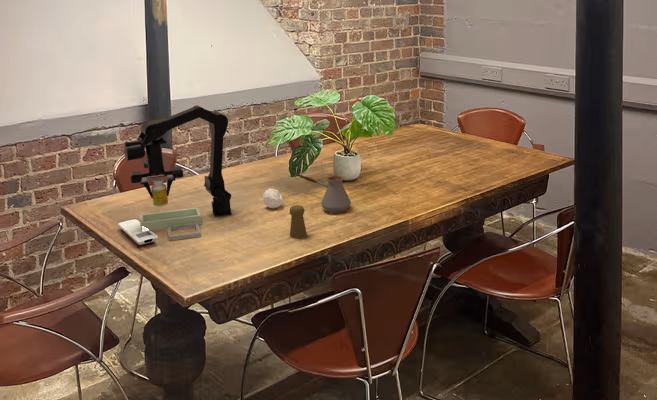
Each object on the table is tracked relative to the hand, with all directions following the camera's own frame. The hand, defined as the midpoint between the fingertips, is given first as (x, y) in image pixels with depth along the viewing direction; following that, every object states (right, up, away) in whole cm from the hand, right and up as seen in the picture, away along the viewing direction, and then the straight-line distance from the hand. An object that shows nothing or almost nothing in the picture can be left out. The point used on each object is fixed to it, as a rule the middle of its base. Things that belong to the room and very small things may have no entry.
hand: (159, 196), depth 266 cm
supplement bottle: (0, -3, +1) cm, 3 cm away
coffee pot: (+61, -5, +12) cm, 62 cm away
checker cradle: (+10, -13, -5) cm, 17 cm away
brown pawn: (+52, -14, -11) cm, 55 cm away
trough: (+3, -10, +4) cm, 12 cm away
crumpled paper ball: (+41, -4, +17) cm, 45 cm away
